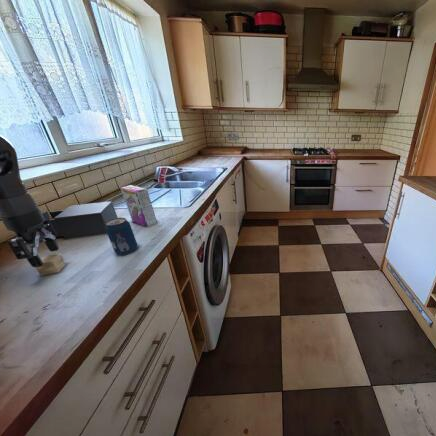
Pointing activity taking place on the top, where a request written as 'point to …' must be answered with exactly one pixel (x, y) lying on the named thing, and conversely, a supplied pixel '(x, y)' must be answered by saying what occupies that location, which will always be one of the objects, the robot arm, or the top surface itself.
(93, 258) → the top surface
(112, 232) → the soda can
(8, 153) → the robot arm
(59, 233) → the dark grey drawer
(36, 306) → the top surface
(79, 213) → the low dark rectangular box
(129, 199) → the candy bar box
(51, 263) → the block
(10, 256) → the top surface
